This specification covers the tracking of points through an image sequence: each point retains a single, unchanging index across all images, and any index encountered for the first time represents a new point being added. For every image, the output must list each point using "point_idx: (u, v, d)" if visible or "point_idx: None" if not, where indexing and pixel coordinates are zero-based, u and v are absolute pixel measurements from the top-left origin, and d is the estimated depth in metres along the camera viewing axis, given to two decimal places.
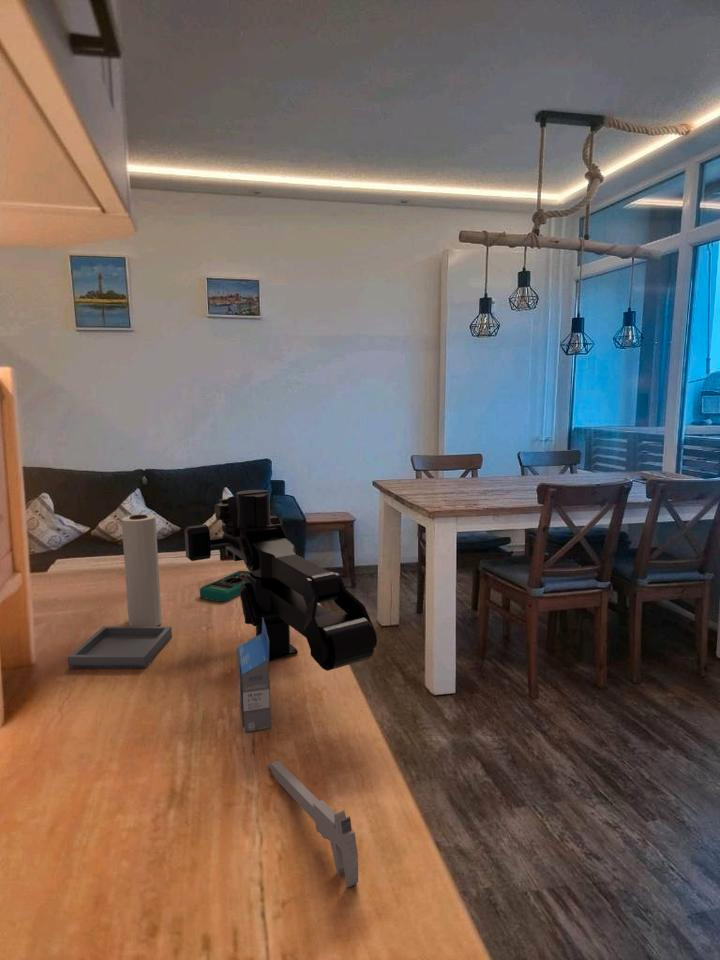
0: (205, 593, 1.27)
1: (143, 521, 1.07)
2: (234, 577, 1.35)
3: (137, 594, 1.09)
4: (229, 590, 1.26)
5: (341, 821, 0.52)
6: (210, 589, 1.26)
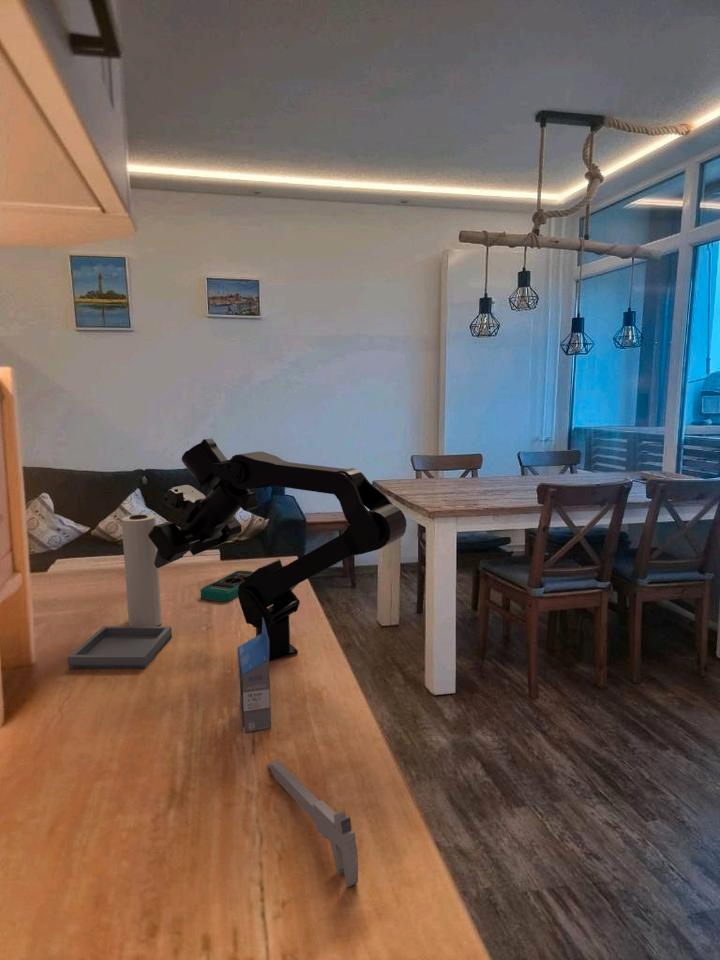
0: (206, 594, 1.26)
1: (143, 521, 1.07)
2: (233, 577, 1.35)
3: (137, 594, 1.09)
4: (231, 590, 1.26)
5: (341, 821, 0.52)
6: (211, 589, 1.26)
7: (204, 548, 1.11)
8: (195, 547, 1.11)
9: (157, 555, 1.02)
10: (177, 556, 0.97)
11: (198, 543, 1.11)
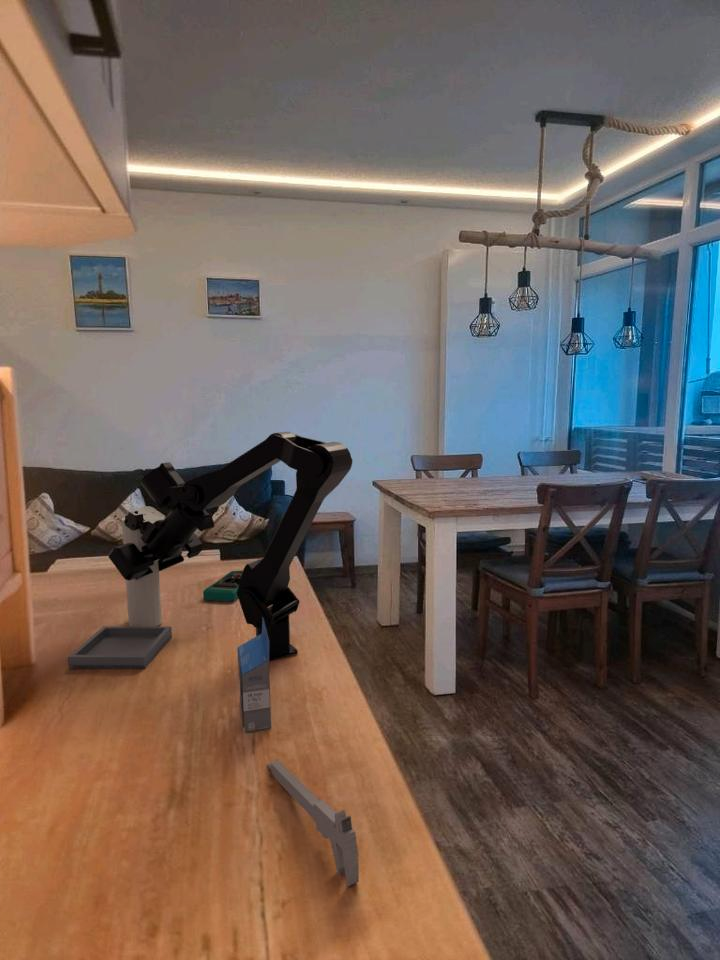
0: (210, 595, 1.26)
1: None
2: (230, 577, 1.35)
3: (137, 594, 1.09)
4: (235, 590, 1.26)
5: (341, 820, 0.52)
6: (216, 590, 1.25)
7: None
8: None
9: None
10: (136, 576, 1.02)
11: None
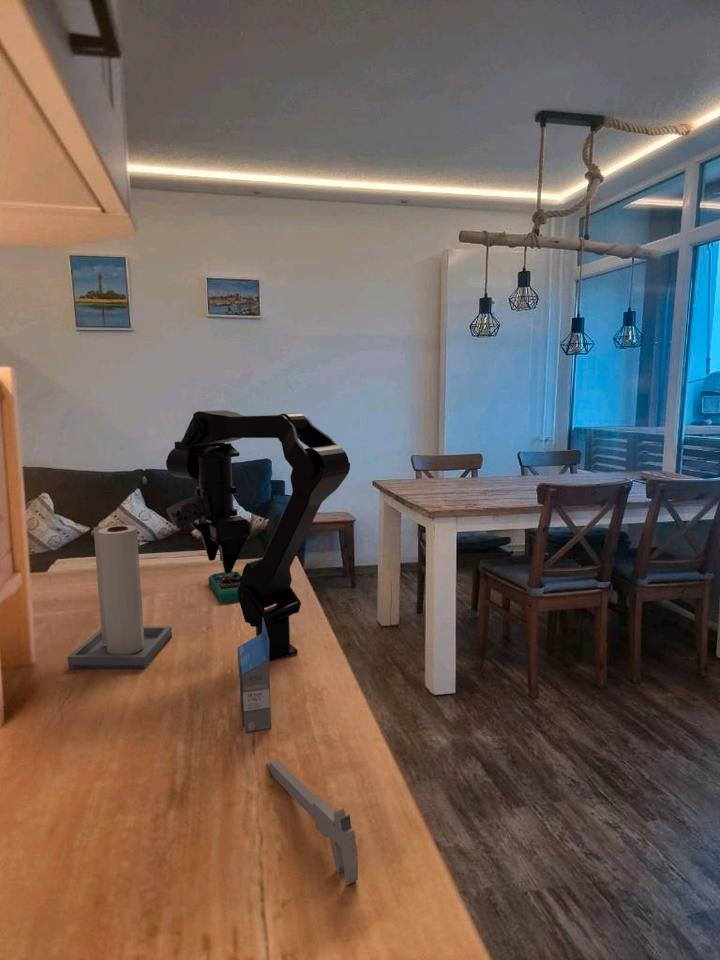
0: (229, 596, 1.25)
1: (129, 532, 0.96)
2: (222, 579, 1.33)
3: (123, 615, 0.97)
4: None
5: (341, 819, 0.53)
6: (235, 590, 1.25)
7: (217, 543, 1.10)
8: (210, 552, 1.09)
9: (225, 559, 1.01)
10: None
11: (209, 546, 1.09)
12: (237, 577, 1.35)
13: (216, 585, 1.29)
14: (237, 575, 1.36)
